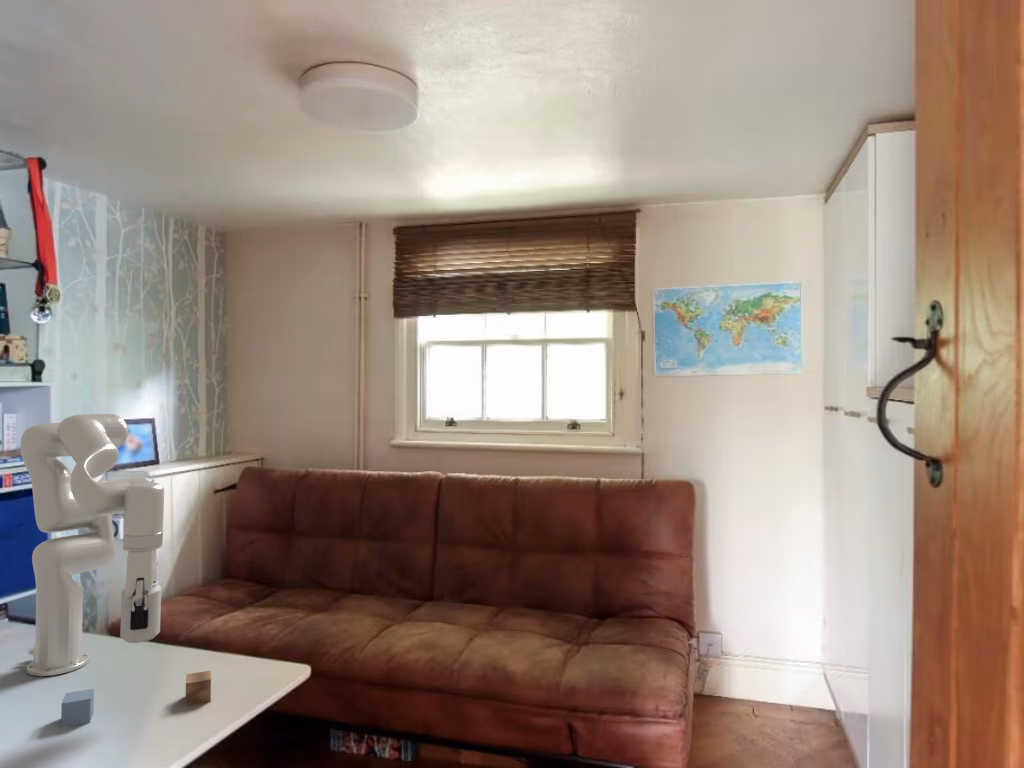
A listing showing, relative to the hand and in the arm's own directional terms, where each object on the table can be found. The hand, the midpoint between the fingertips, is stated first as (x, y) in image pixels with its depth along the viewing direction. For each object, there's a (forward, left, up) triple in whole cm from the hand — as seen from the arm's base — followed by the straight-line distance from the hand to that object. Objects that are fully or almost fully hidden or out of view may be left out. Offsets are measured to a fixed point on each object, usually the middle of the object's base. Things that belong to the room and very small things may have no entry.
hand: (140, 621), depth 142 cm
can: (0, 0, -4) cm, 4 cm away
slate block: (-8, -8, -19) cm, 22 cm away
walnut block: (+8, +8, -19) cm, 22 cm away
